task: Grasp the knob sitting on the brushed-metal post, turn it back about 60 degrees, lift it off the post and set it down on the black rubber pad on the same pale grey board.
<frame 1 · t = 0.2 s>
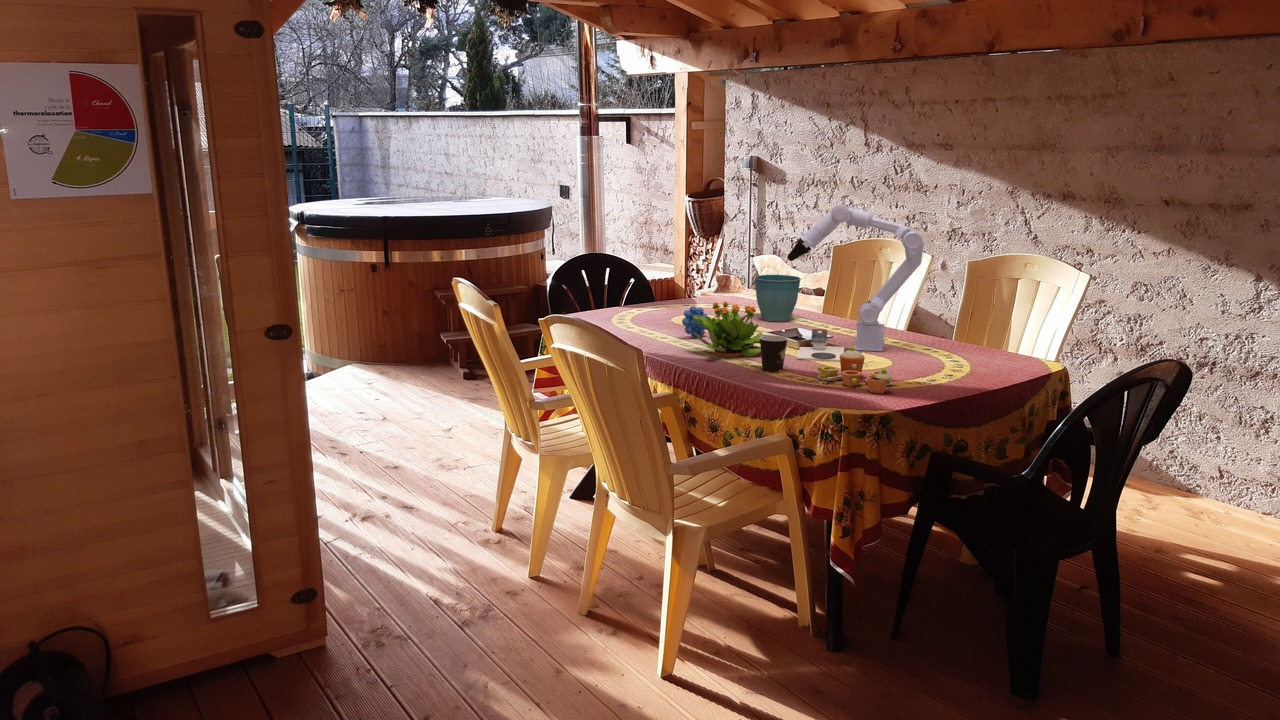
hand: (789, 258, 326), 31 cm above the table, tool tilted 45°, fingers open, 7 cm apart
grapes: (696, 338, 344), on the table
board: (821, 353, 320), on the table
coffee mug: (776, 369, 300), on the table
potted flower: (726, 355, 319), on the table
flower pot: (776, 320, 379), on the table
toy tea set: (860, 384, 283), on the table
knob: (819, 340, 324), point 4 cm above the table, touching board
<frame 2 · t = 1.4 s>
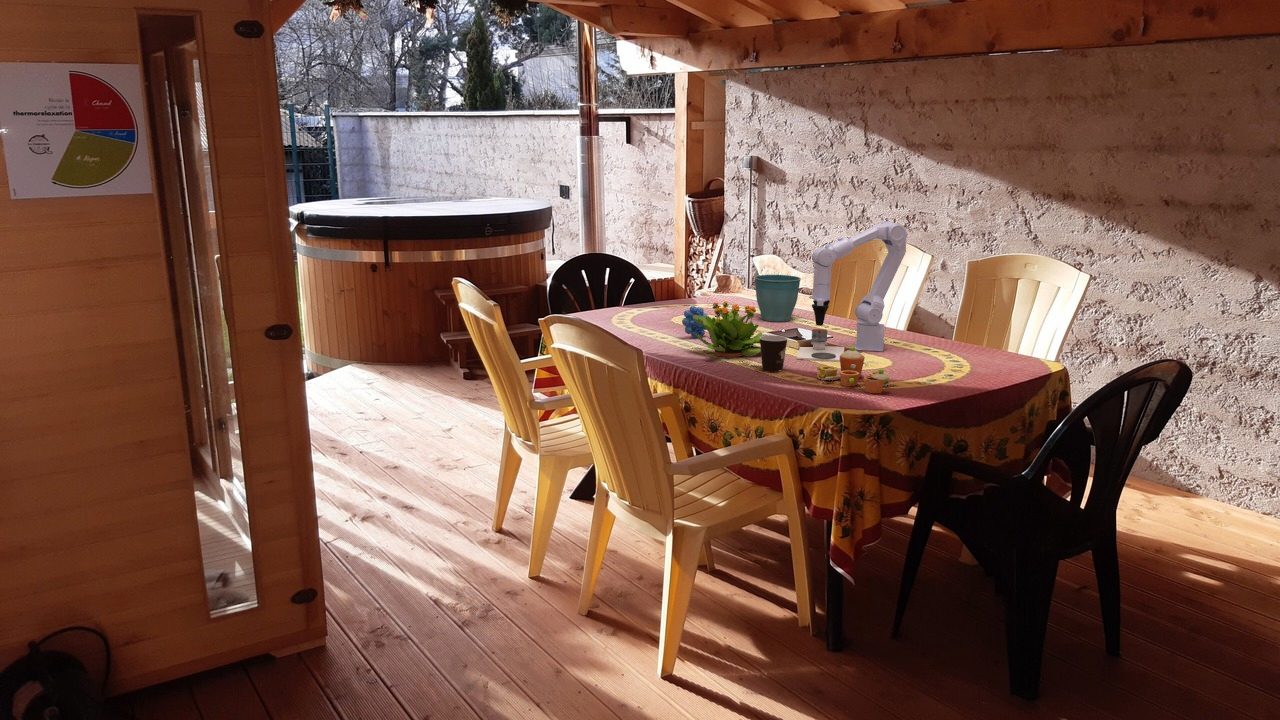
hand: (819, 323, 323), 10 cm above the table, tool pointing down, fingers open, 7 cm apart
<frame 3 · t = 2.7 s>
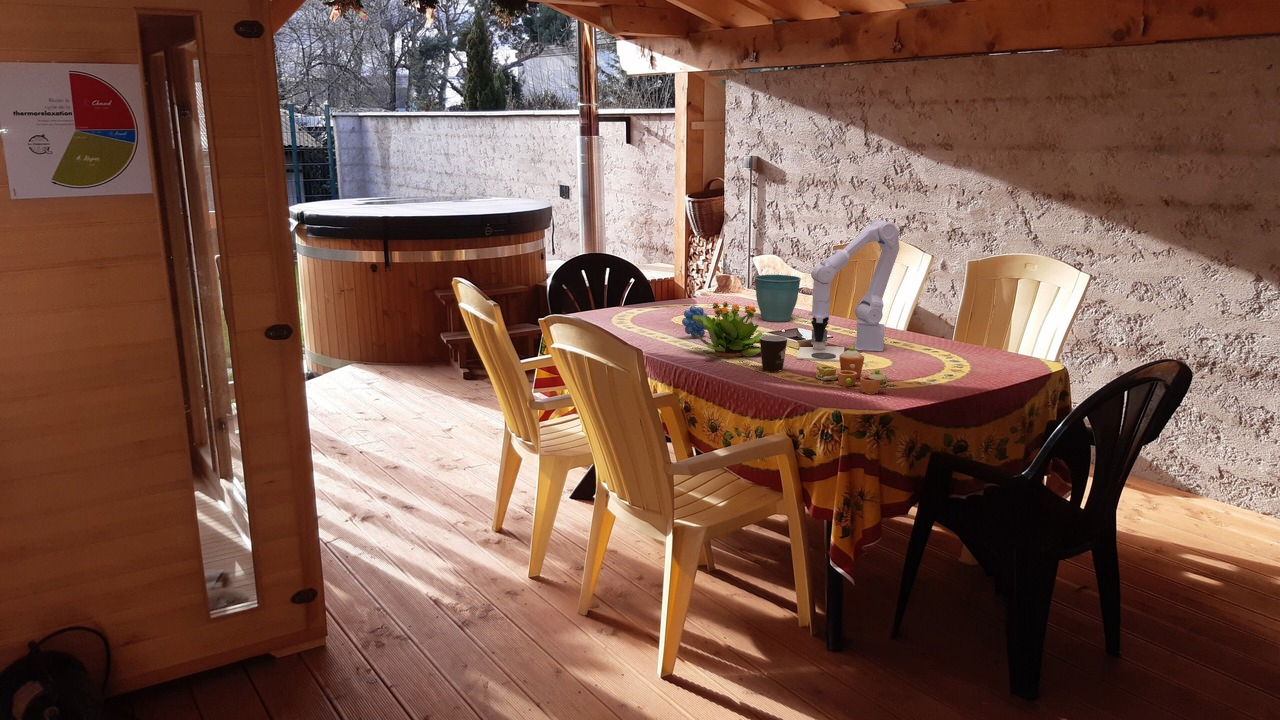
hand: (819, 339, 324), 4 cm above the table, tool pointing down, fingers closed on knob, 5 cm apart
knob: (819, 340, 324), point 4 cm above the table, touching board, gripper
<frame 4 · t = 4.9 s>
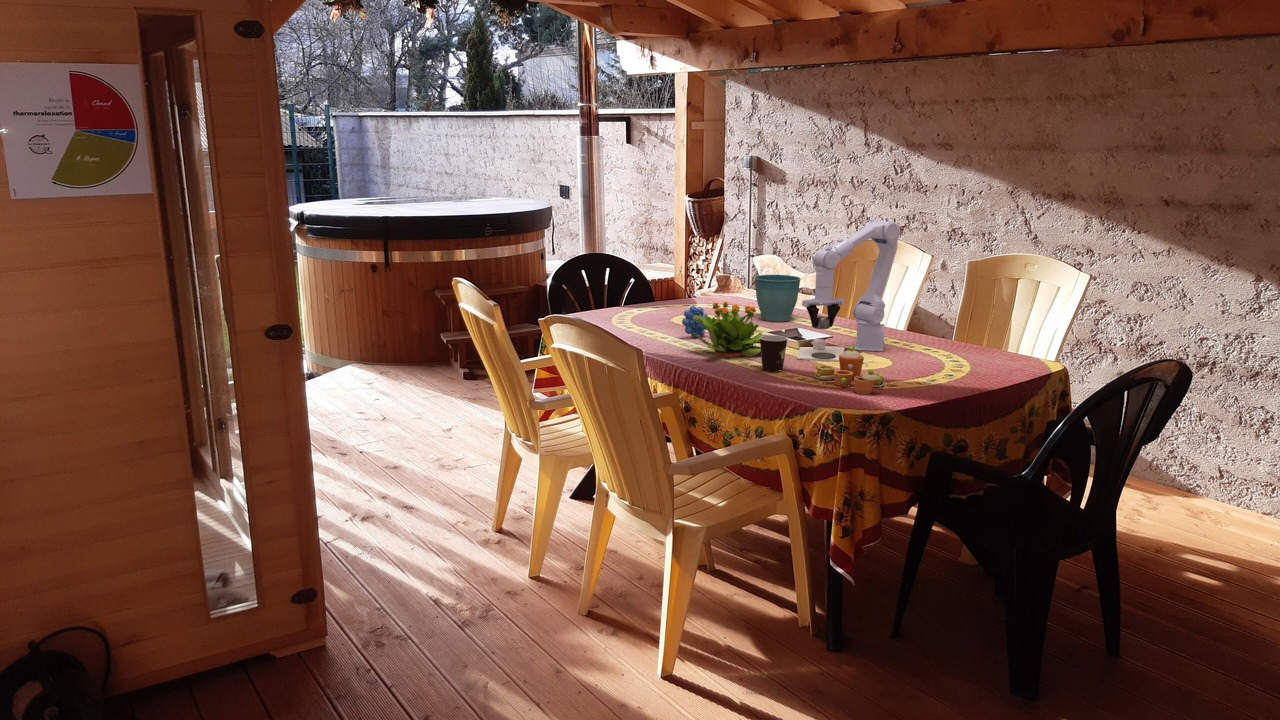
hand: (822, 326, 317), 9 cm above the table, tool pointing down, fingers closed on knob, 5 cm apart
knob: (821, 327, 317), point 9 cm above the table, touching gripper
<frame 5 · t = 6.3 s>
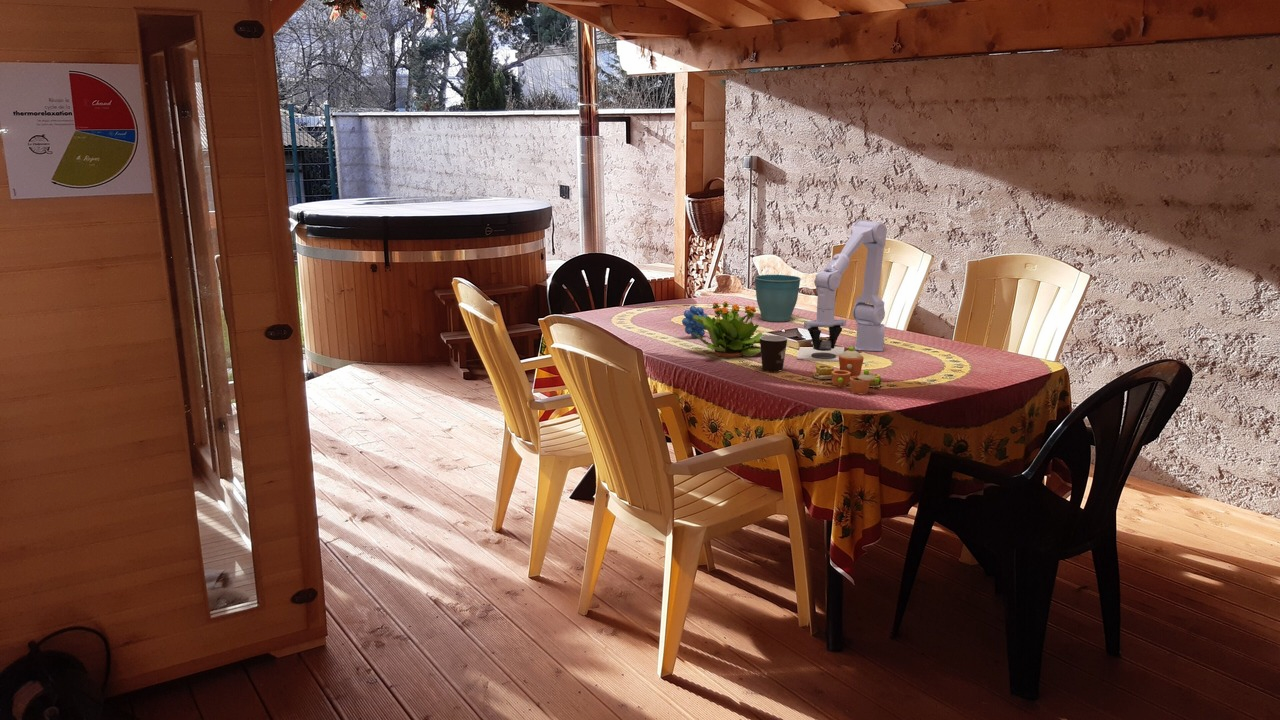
hand: (823, 348, 313), 3 cm above the table, tool pointing down, fingers closed on knob, 5 cm apart
knob: (823, 349, 313), point 3 cm above the table, touching gripper
when the fingers open (3 cm above the table, at t = 7.4 s): knob drops 1 cm, resting on board.
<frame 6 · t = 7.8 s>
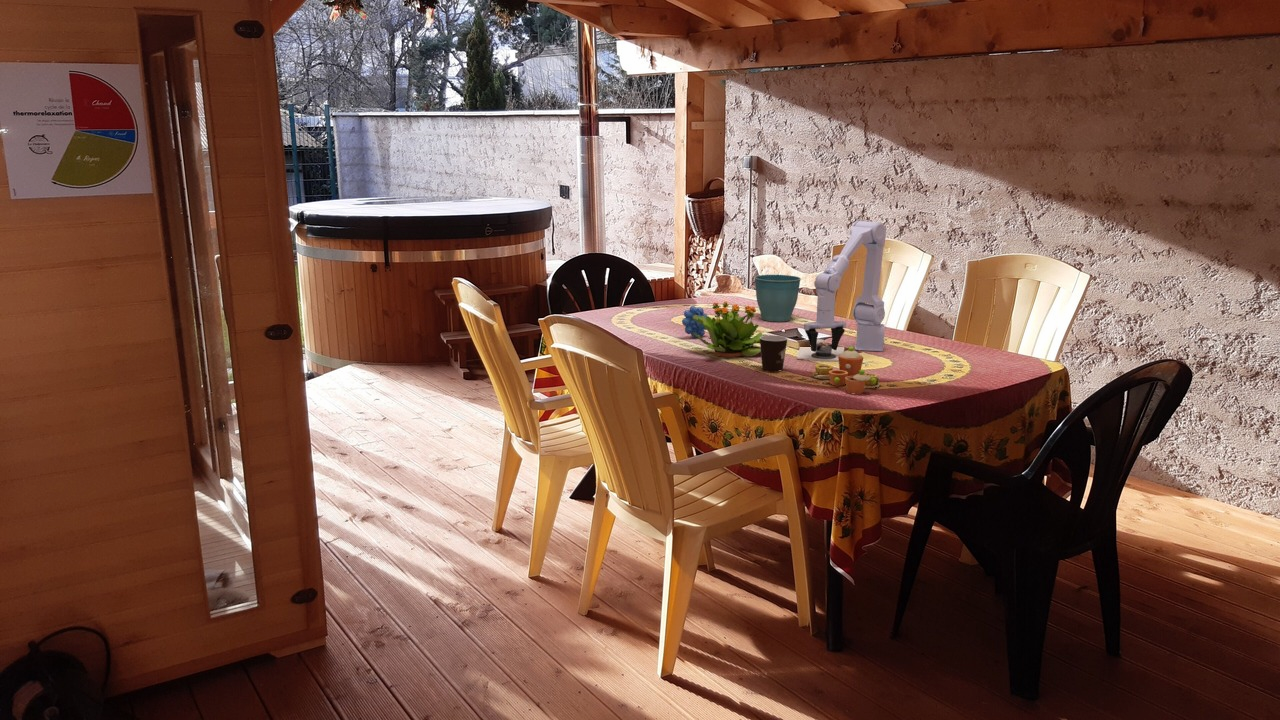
hand: (823, 350, 313), 3 cm above the table, tool pointing down, fingers open, 7 cm apart
knob: (823, 355, 314), point 1 cm above the table, touching board
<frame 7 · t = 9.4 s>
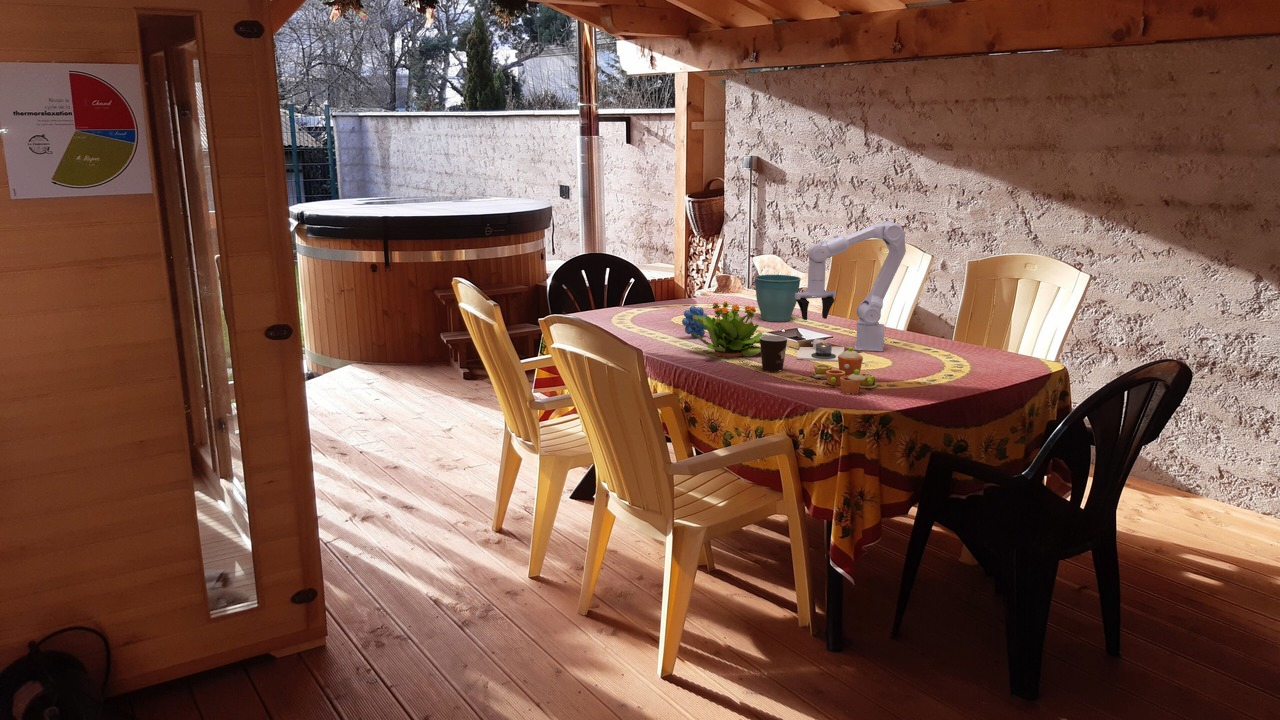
hand: (814, 318, 326), 10 cm above the table, tool pointing down, fingers open, 7 cm apart
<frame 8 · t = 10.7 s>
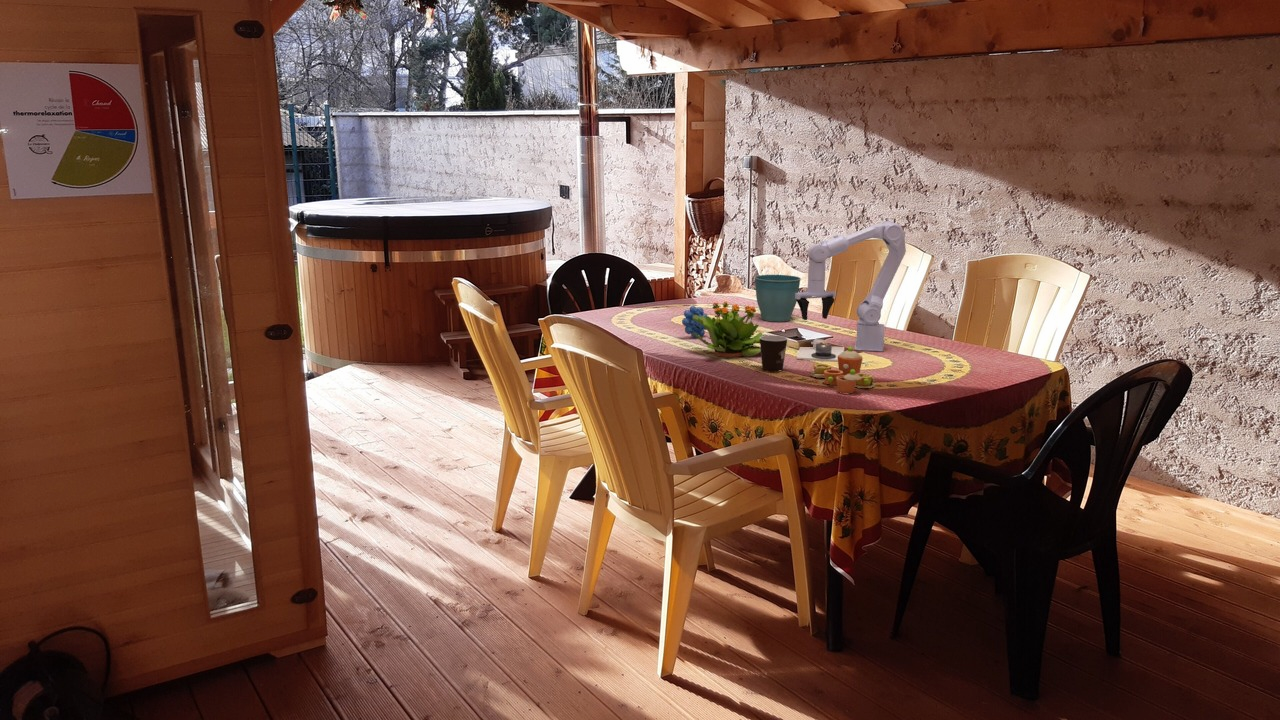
hand: (814, 318, 326), 10 cm above the table, tool pointing down, fingers open, 7 cm apart
at the end: knob 0.2 cm from the target spot on the board, point 1.0 cm above the board's base; knob tilted 0°; knob moved 11.2 cm from its start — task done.
